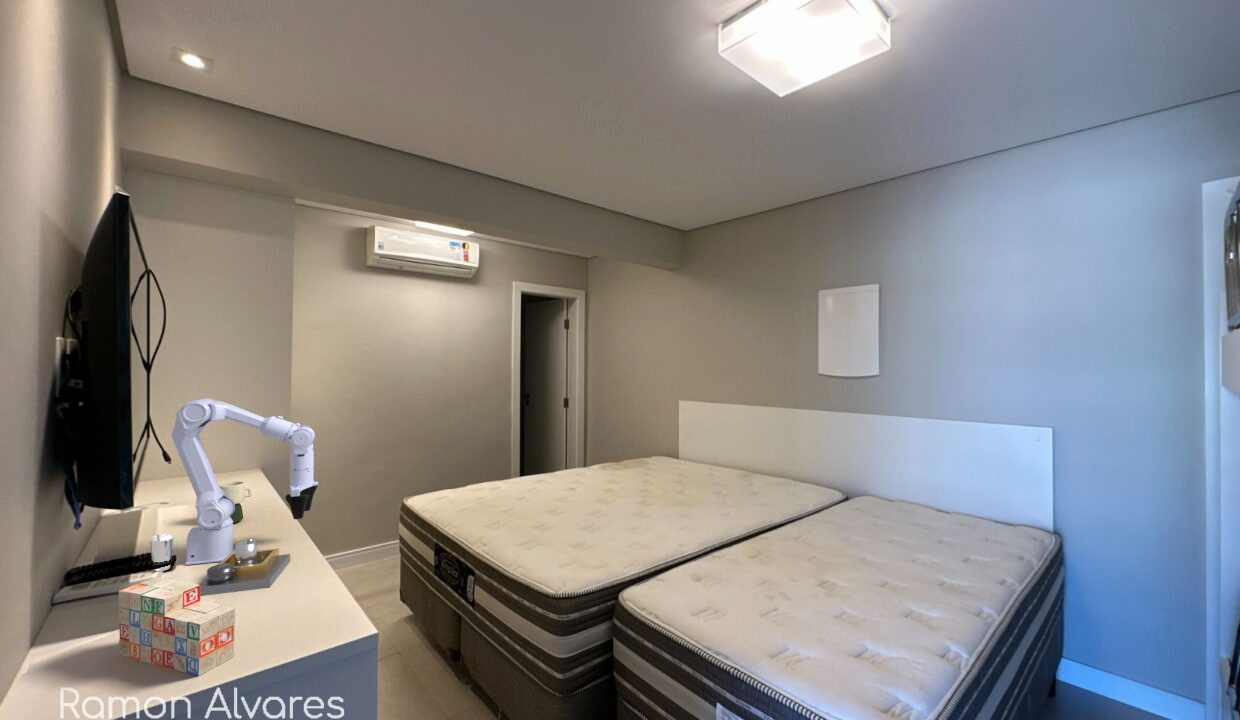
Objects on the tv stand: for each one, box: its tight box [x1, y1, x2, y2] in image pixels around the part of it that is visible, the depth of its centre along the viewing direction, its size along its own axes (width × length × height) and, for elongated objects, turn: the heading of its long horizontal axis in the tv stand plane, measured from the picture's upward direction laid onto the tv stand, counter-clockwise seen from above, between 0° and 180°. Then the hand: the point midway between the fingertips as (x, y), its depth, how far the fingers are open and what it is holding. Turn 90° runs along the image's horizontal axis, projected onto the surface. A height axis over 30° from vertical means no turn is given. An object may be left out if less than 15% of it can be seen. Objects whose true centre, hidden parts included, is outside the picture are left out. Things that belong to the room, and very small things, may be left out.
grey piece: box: [200, 547, 291, 597], centre depth 125 cm, size 14×16×5 cm
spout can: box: [234, 537, 258, 566], centre depth 126 cm, size 4×4×7 cm
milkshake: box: [149, 532, 175, 572], centre depth 129 cm, size 4×5×10 cm
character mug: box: [219, 481, 253, 524], centre depth 165 cm, size 11×7×13 cm, turn 125°
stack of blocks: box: [118, 576, 236, 677], centre depth 92 cm, size 21×6×12 cm, turn 73°
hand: (301, 514), depth 145 cm, fingers open, 7 cm apart
